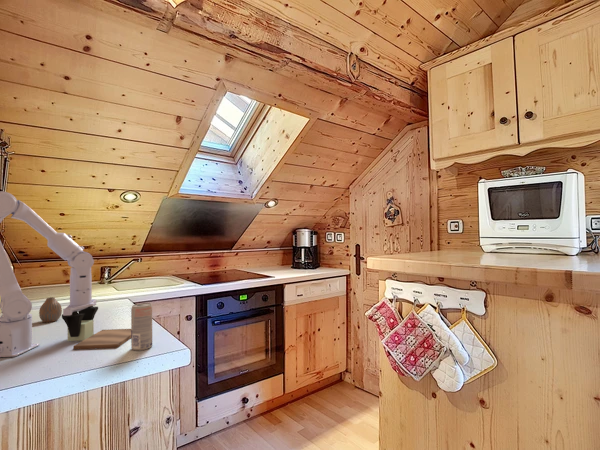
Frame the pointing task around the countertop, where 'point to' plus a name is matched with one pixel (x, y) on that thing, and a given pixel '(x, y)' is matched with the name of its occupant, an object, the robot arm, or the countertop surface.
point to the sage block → (83, 331)
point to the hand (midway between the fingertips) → (80, 333)
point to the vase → (50, 310)
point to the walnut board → (105, 339)
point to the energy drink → (141, 326)
